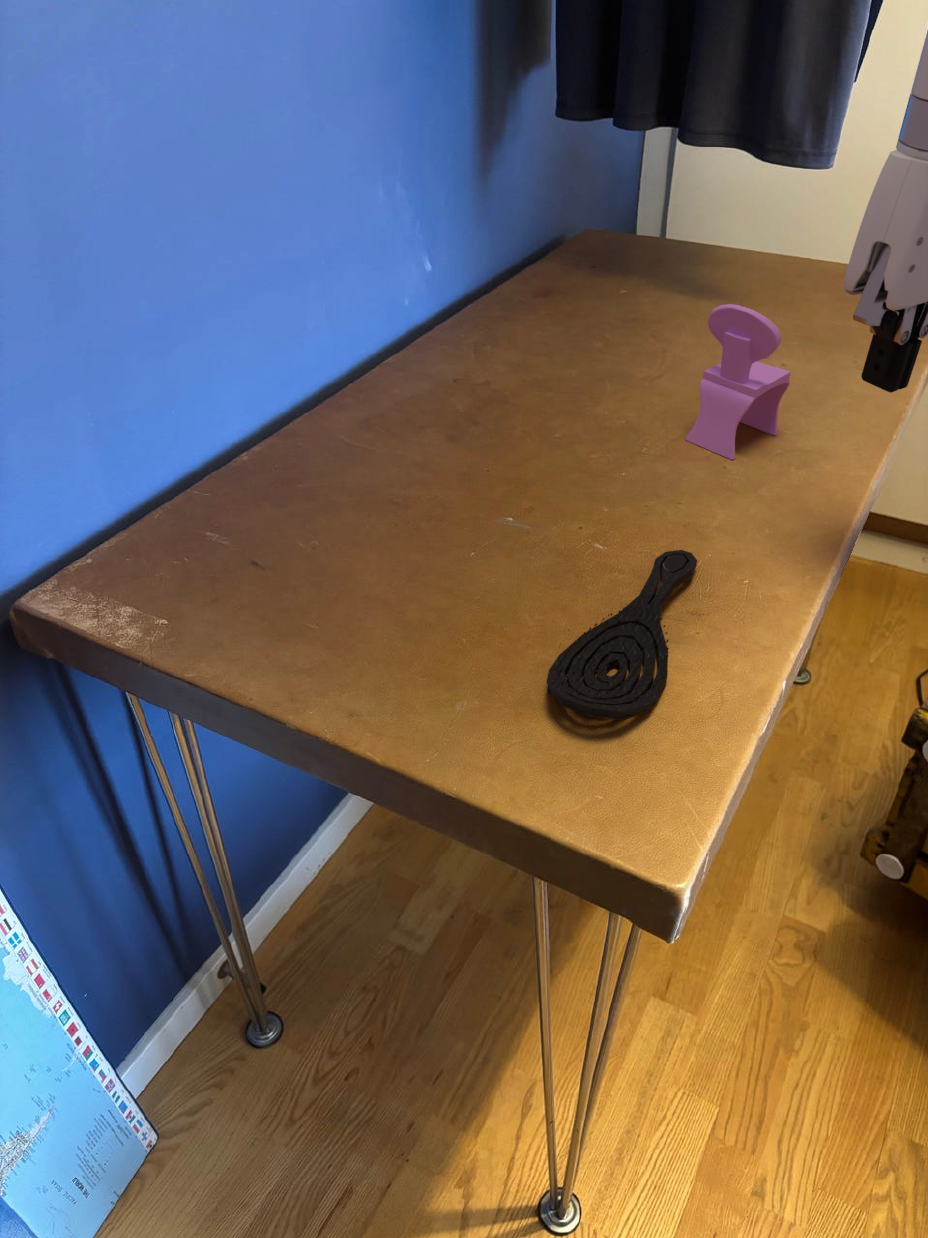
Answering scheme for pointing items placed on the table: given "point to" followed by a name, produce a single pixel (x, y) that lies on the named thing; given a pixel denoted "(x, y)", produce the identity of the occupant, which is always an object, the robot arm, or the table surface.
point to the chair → (739, 380)
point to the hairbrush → (622, 651)
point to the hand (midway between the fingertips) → (883, 383)
